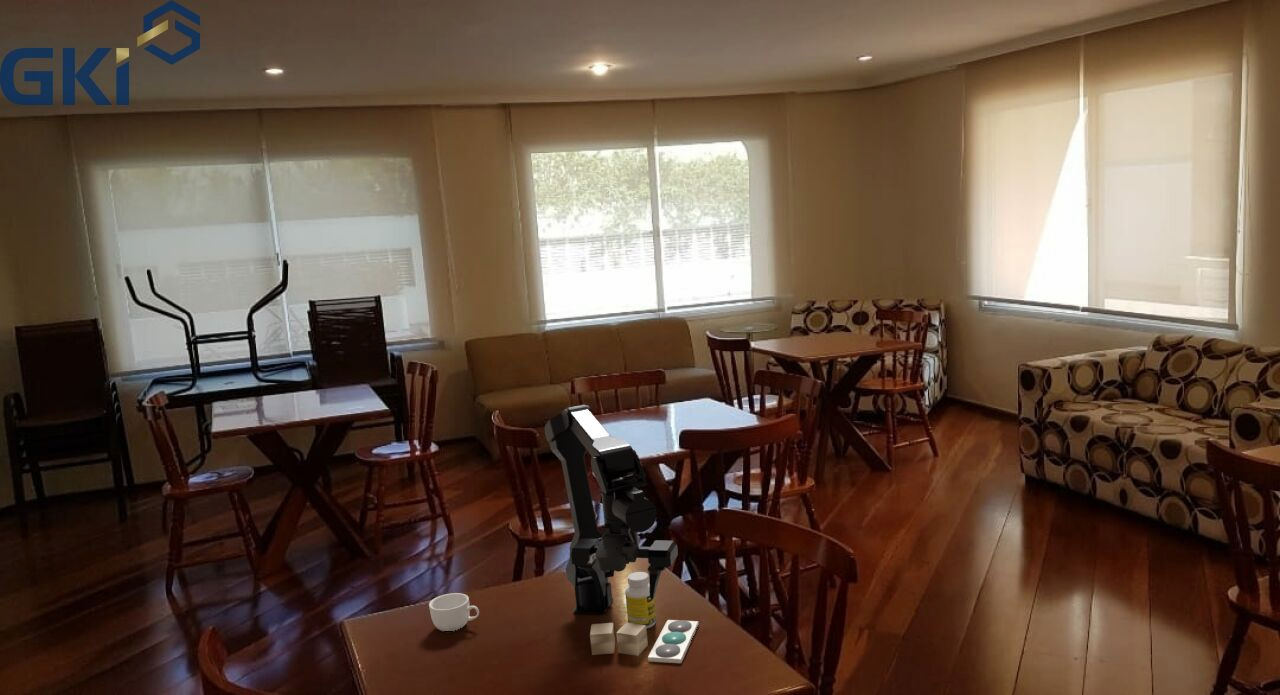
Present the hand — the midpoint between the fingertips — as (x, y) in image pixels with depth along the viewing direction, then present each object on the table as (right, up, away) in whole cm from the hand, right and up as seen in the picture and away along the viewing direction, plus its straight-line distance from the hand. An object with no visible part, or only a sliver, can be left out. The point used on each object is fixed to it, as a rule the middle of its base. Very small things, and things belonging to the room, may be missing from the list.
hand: (627, 597), depth 163 cm
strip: (+8, -9, +2) cm, 13 cm away
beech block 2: (+1, -10, +2) cm, 10 cm away
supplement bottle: (+3, -8, +11) cm, 14 cm away
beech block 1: (-4, -10, +3) cm, 12 cm away
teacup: (-34, -11, +17) cm, 40 cm away
